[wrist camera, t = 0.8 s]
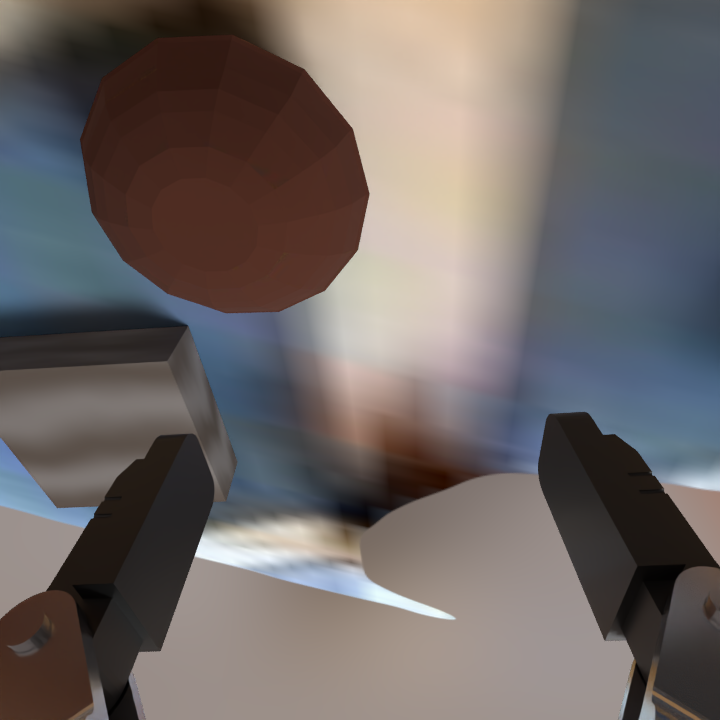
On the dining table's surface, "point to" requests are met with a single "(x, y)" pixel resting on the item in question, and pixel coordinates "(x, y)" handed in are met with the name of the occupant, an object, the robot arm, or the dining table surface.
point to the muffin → (224, 174)
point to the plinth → (105, 407)
